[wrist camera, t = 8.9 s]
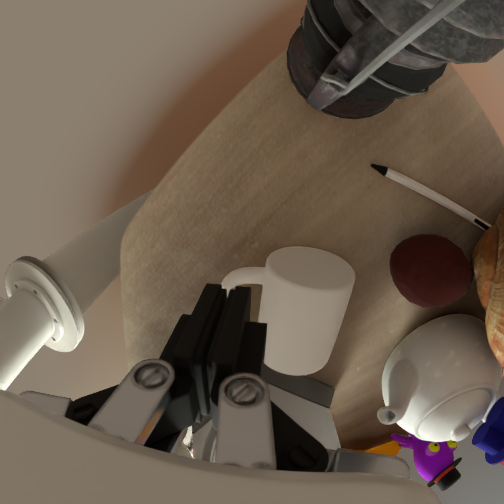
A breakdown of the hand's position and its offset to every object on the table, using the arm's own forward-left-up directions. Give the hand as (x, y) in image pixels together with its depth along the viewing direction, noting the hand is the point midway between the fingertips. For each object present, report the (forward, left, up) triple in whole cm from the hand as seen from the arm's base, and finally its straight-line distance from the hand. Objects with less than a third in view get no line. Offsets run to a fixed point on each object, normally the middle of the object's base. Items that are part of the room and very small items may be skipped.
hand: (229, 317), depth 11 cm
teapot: (+25, -19, -18) cm, 36 cm away
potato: (+17, -5, -18) cm, 25 cm away
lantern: (+6, +13, -18) cm, 23 cm away
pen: (+18, +2, -18) cm, 26 cm away
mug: (+2, -10, -18) cm, 21 cm away
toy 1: (+30, -36, -18) cm, 50 cm away
